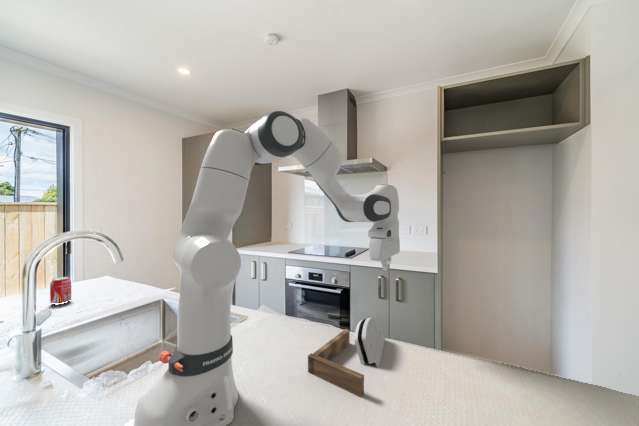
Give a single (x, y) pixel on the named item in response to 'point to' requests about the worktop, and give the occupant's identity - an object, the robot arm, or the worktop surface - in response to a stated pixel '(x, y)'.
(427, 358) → the worktop surface
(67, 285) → the soda can
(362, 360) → the white black-banded slab
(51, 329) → the worktop surface
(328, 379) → the wooden corner bracket
